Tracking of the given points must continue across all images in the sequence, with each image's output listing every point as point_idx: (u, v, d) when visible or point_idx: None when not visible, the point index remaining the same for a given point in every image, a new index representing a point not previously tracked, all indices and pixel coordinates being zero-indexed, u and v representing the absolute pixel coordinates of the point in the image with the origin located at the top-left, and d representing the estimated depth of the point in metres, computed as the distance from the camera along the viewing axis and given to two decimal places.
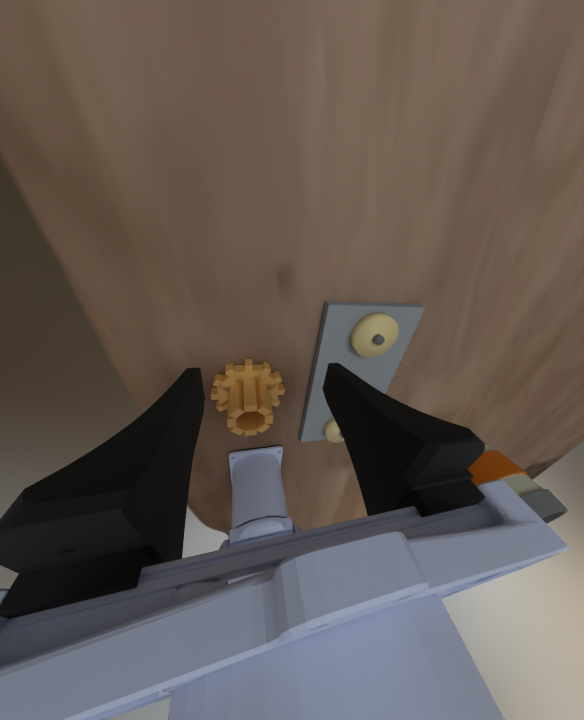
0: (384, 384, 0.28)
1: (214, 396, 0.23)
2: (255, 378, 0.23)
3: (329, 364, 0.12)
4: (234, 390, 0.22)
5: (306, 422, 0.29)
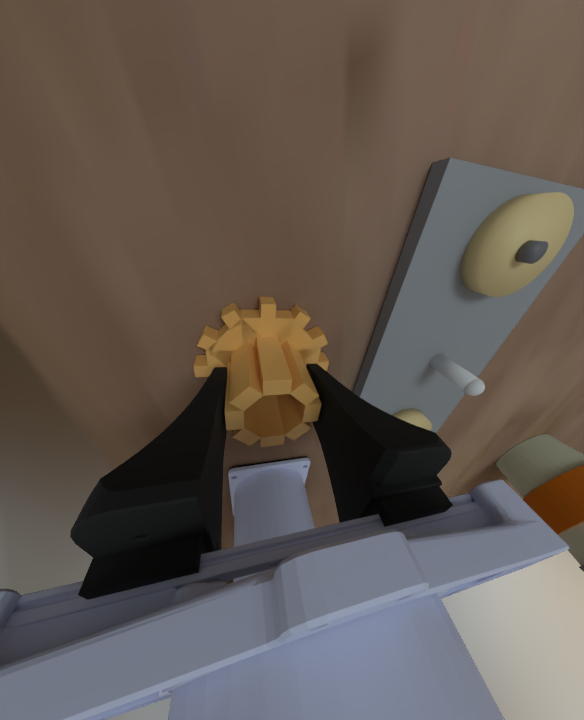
0: (483, 358, 0.17)
1: (201, 370, 0.12)
2: (280, 335, 0.12)
3: (307, 365, 0.12)
4: (239, 355, 0.11)
5: None
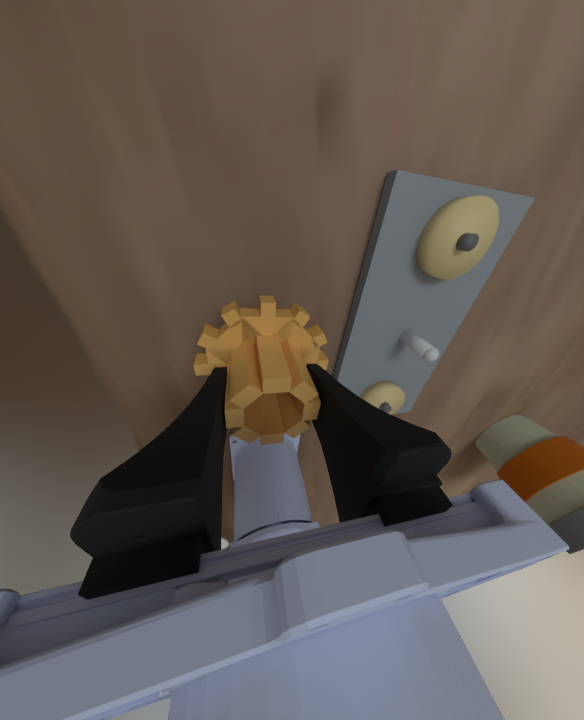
0: (446, 336, 0.20)
1: (201, 368, 0.12)
2: (279, 333, 0.12)
3: (307, 365, 0.12)
4: (239, 354, 0.11)
5: None
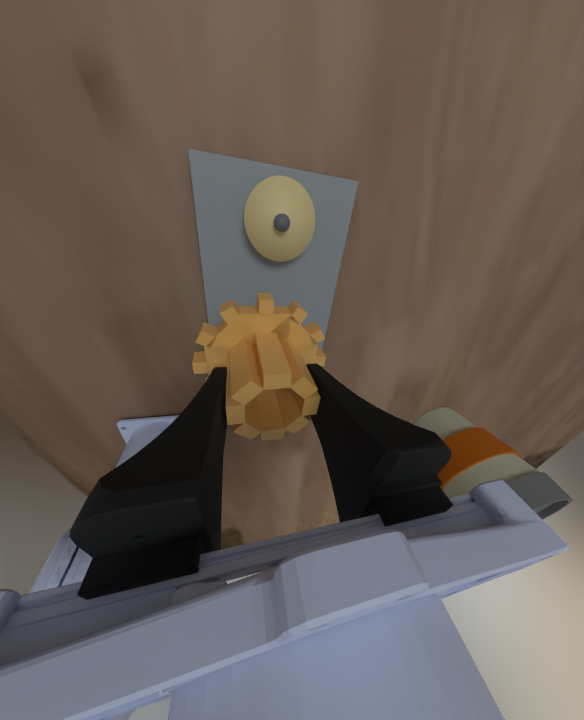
0: (320, 322, 0.20)
1: (199, 366, 0.12)
2: (278, 330, 0.12)
3: (307, 365, 0.12)
4: (238, 351, 0.11)
5: None
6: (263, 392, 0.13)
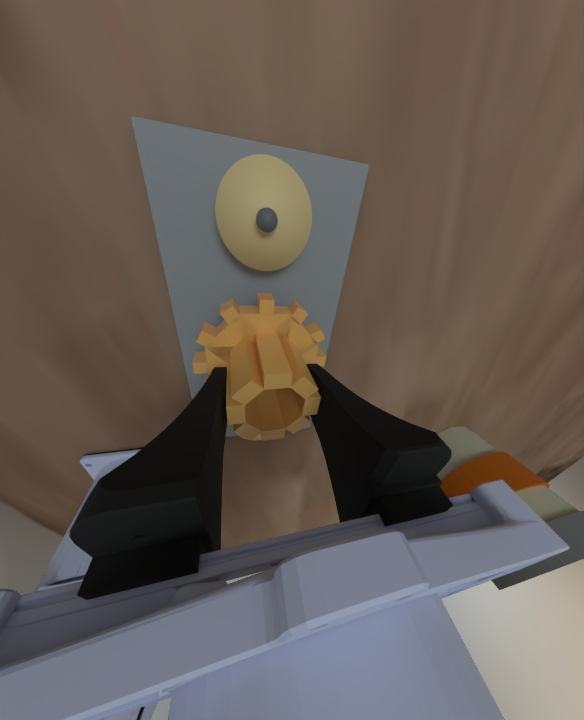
0: (320, 341, 0.17)
1: (200, 366, 0.12)
2: (278, 330, 0.12)
3: (307, 365, 0.12)
4: (239, 351, 0.11)
5: None
6: (263, 392, 0.13)
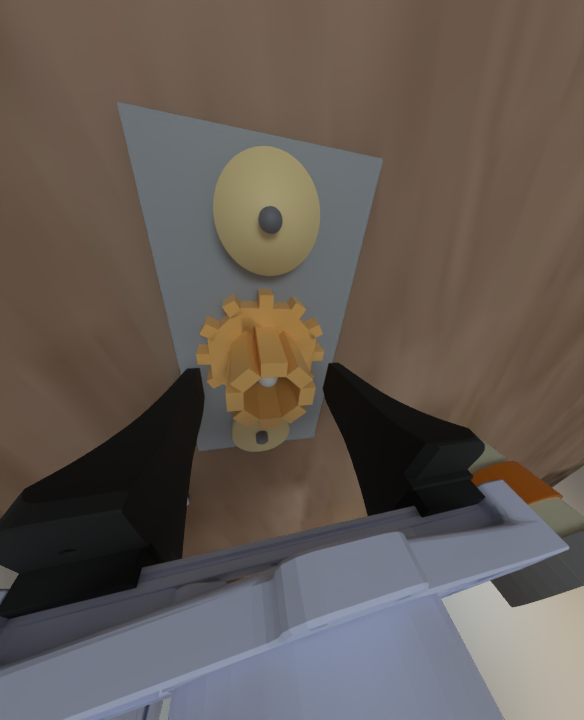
0: (325, 349, 0.16)
1: (203, 358, 0.13)
2: (277, 325, 0.12)
3: (329, 364, 0.12)
4: (239, 343, 0.12)
5: None
6: None
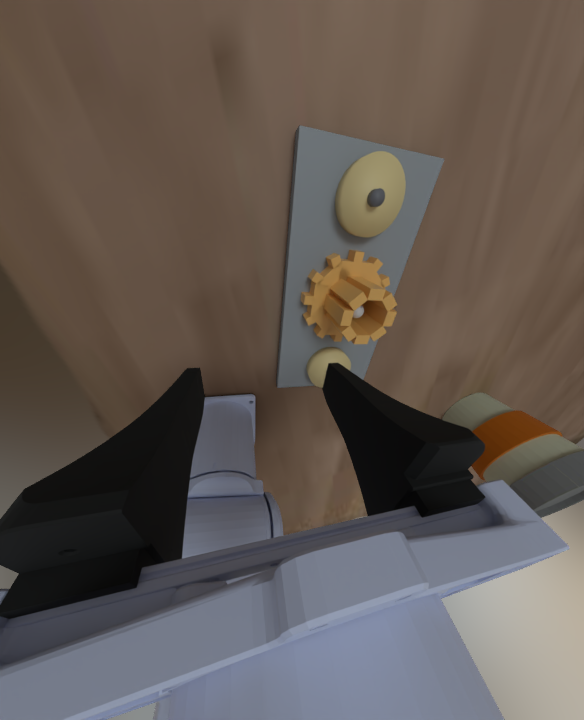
0: None
1: (308, 299, 0.18)
2: (362, 275, 0.18)
3: (329, 364, 0.12)
4: (340, 285, 0.17)
5: (282, 355, 0.22)
6: None
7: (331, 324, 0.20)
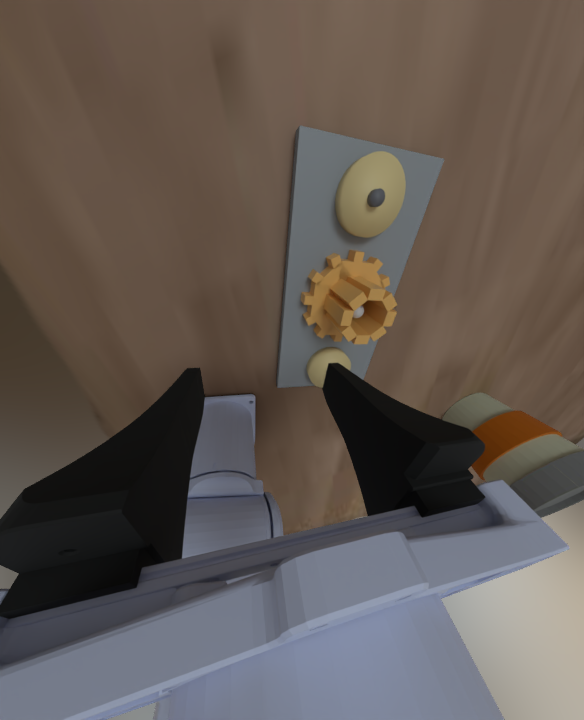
0: None
1: (308, 299, 0.18)
2: (362, 275, 0.18)
3: (329, 364, 0.12)
4: (340, 285, 0.17)
5: (282, 355, 0.22)
6: None
7: (331, 324, 0.20)
